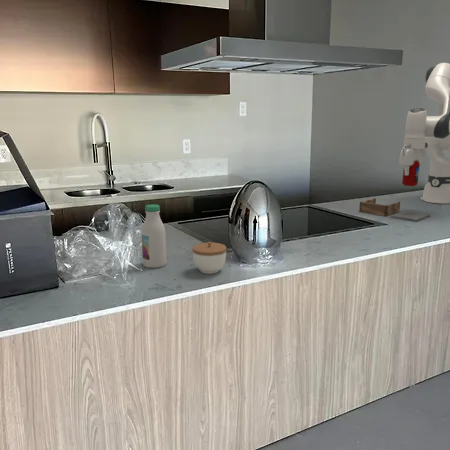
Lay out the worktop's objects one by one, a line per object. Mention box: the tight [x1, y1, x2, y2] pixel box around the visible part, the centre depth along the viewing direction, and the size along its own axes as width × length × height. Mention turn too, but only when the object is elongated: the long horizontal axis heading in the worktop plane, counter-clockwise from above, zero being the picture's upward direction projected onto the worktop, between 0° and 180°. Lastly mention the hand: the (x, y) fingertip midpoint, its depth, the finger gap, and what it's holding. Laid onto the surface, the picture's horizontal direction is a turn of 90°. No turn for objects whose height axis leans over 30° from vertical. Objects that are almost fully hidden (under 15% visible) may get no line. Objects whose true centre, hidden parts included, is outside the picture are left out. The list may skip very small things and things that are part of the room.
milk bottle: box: [141, 204, 167, 269], centre depth 151 cm, size 8×8×20 cm
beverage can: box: [401, 160, 421, 187], centre depth 217 cm, size 7×7×12 cm
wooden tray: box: [358, 197, 401, 217], centre depth 230 cm, size 14×14×5 cm
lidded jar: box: [191, 241, 227, 275], centre depth 147 cm, size 11×11×9 cm
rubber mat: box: [390, 210, 431, 223], centre depth 219 cm, size 15×12×1 cm
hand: (410, 174), depth 217 cm, fingers closed on beverage can, 7 cm apart
